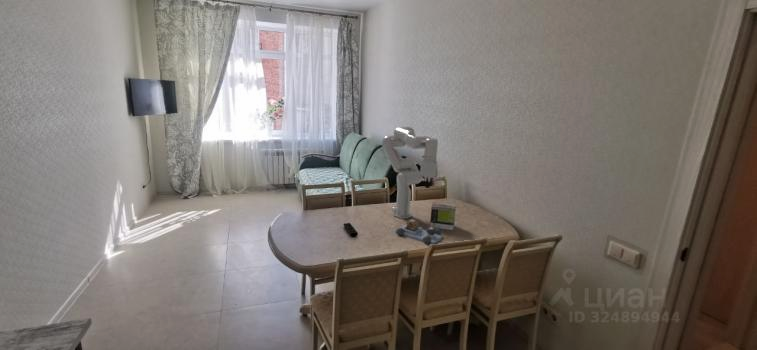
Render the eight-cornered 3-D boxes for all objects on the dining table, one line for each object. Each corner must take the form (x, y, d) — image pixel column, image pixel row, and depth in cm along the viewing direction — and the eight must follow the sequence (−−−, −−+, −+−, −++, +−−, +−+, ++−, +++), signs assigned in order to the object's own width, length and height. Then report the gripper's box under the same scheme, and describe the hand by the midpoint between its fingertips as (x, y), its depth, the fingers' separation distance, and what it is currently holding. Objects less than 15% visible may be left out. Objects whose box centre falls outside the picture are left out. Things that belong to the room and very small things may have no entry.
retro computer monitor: (454, 225, 235) (456, 204, 231) (453, 231, 226) (455, 209, 222) (431, 222, 239) (433, 201, 235) (429, 227, 229) (431, 205, 226)
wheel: (424, 236, 211) (425, 228, 210) (428, 233, 215) (429, 226, 214) (432, 238, 208) (433, 230, 207) (436, 235, 212) (437, 228, 211)
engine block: (406, 231, 218) (406, 220, 216) (410, 228, 222) (411, 218, 220) (413, 233, 215) (414, 222, 214) (417, 230, 219) (418, 220, 218)
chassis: (393, 233, 217) (394, 226, 216) (406, 226, 230) (407, 219, 229) (432, 245, 203) (433, 238, 202) (443, 237, 216) (444, 230, 215)
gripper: (416, 157, 218) (414, 186, 223) (438, 161, 210) (435, 191, 215) (422, 156, 224) (419, 184, 229) (443, 159, 216) (441, 188, 221)
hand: (427, 187), depth 222 cm, fingers closed
